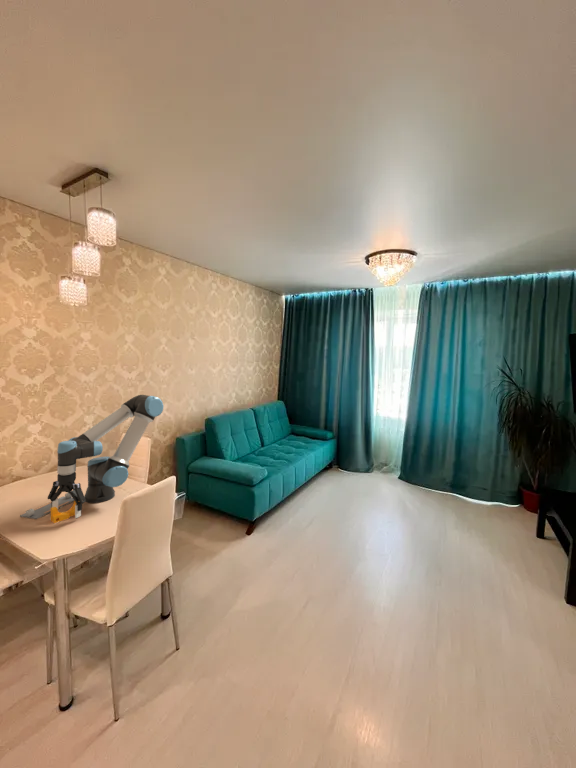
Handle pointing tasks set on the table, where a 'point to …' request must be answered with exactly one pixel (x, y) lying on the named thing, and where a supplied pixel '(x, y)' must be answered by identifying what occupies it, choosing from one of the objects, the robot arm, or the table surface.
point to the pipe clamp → (62, 514)
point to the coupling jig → (47, 507)
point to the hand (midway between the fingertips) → (66, 515)
